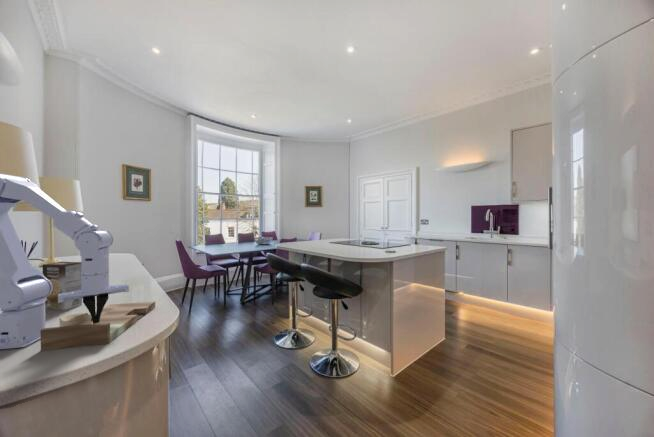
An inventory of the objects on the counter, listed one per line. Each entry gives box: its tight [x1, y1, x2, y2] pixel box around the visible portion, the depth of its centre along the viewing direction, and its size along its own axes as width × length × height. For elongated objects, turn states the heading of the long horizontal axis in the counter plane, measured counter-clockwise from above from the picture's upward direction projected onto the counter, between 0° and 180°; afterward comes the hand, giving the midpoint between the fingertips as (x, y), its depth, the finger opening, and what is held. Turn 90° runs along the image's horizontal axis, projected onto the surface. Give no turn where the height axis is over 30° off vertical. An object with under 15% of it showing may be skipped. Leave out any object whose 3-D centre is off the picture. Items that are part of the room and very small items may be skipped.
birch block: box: [59, 311, 91, 327], centre depth 68 cm, size 5×5×4 cm
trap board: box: [40, 300, 156, 351], centre depth 78 cm, size 28×14×5 cm, turn 13°
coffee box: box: [42, 261, 83, 311], centre depth 93 cm, size 9×6×16 cm
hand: (96, 322), depth 72 cm, fingers closed
